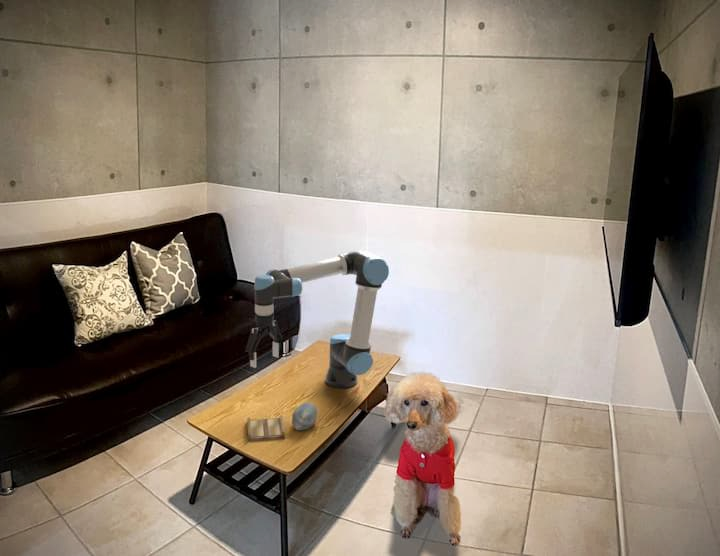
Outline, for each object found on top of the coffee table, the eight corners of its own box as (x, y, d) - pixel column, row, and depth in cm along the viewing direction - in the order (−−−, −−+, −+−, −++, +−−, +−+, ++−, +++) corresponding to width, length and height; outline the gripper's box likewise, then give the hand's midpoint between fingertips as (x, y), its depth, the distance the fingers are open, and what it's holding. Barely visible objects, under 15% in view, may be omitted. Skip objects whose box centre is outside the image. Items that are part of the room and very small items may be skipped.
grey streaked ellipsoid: (298, 406, 258) (306, 392, 252) (317, 419, 257) (325, 405, 251) (283, 428, 246) (290, 413, 241) (303, 441, 246) (311, 426, 240)
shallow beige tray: (281, 419, 253) (281, 414, 252) (284, 438, 239) (284, 432, 238) (247, 422, 250) (247, 416, 249) (248, 441, 236) (248, 435, 235)
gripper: (277, 304, 261) (277, 350, 266) (235, 319, 240) (236, 368, 246) (291, 307, 257) (291, 354, 262) (249, 323, 237) (250, 373, 242)
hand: (264, 361), depth 254 cm, fingers open, 13 cm apart
